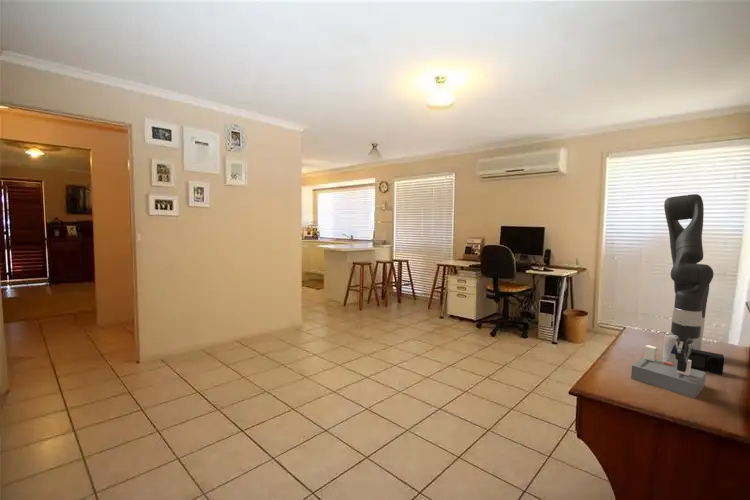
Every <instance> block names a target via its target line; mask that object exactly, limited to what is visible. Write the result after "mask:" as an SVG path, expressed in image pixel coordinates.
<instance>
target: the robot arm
mask: <svg viewBox="0 0 750 500" xmlns="http://www.w3.org/2000/svg"><path fill="white" fill-rule="evenodd" d="M663 206H664V213H665V219H666V223H667V228H668V229H667V230H668V232H669V233H668V235H669V247H670V255H671V260H672V267H671V271H670V278H671V280H672V281H673V283H674V284H673V286H674V293H675V297H674V306H673V311H672V315H671V316H672V318H671V327H670V334H674V335H677V336H678V340H676V342H675V345H676V347H675V348H674V351H675V357H676V359H677V360H678V363H677V370H678V371H682V372H685V371H686V368H687V361H688V360H689V358H688V357H690V354H691V350H692V349H695V350H701V351H702V348H703V340H704V339H703V338H704V331H705V330H704V329H705V322H706V320H705V319H706V311H707V305H708V304H707V303H708V298H709V293H710V284H711V282H712V280H713V277H714V270H713V268H712V267H711V266H710V265H709V264H704V263H700V262H702V261H703V259H704V248H703V247H704V246H703V229H704V211H705V209H704V201H703V198H702V196H701V195H700V194H698V193H696V194H695V193H694V194H693V193H692V194H685V195H683V194H682V195H677V196H676V195H675V196H670V197H667V198H665V201H664V204H663ZM683 220H685V221H687V220H690V222H689V224H687V226H686V227H685V228H684V227H683V226H682V225H681V223H680V222H679V221H683Z"/></svg>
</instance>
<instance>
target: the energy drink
mask: <svg viewBox="0 0 750 500" xmlns="http://www.w3.org/2000/svg"><path fill="white" fill-rule="evenodd" d="M663 339H664V340H663V350H662V359H661V361H667V362H670V363H674V364H676V365H677V363H678V360H677V359H676V357H675V351H674V348H675V347H676V345H675V342H676V340H678V336H677V335H674V334H672V333H665V335H664V337H663Z"/></svg>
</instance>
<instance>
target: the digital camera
mask: <svg viewBox="0 0 750 500" xmlns="http://www.w3.org/2000/svg"><path fill="white" fill-rule="evenodd" d="M688 358H689V360H691V369H694V370H698V371H702V372H706V373H711V374H715V375H720V376H723V375H724V373H723V372H724V366H725V365H724V364H725V357H724V354H721V353H716V352H711V351H704V350H702V349H701V350H695V349H692V350H691V354H690V357H688Z"/></svg>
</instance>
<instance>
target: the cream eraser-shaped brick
mask: <svg viewBox="0 0 750 500" xmlns="http://www.w3.org/2000/svg"><path fill="white" fill-rule="evenodd" d="M690 370H691V360H688V361H687V368H686V371H685V372H682V371H678V370H677V373H680V374H683V375H687V376H689V375H690Z"/></svg>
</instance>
